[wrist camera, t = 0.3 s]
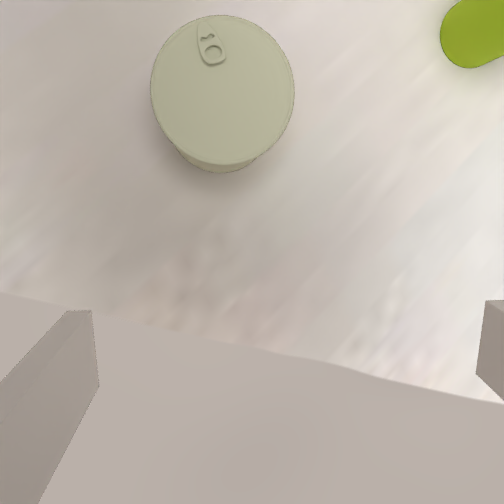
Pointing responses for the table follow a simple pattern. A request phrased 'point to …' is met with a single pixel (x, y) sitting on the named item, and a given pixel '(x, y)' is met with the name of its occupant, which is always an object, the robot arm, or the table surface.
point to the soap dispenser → (473, 32)
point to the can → (222, 92)
